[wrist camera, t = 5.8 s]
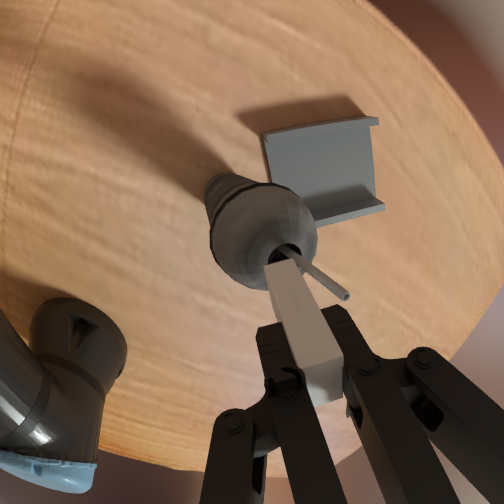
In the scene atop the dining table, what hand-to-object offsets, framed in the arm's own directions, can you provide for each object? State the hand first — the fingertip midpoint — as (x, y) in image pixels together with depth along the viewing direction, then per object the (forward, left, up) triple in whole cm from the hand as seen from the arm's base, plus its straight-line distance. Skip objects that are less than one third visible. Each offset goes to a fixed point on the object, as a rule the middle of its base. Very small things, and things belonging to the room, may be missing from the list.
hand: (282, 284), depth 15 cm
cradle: (+9, 0, -18) cm, 20 cm away
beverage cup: (-2, 0, -18) cm, 18 cm away
